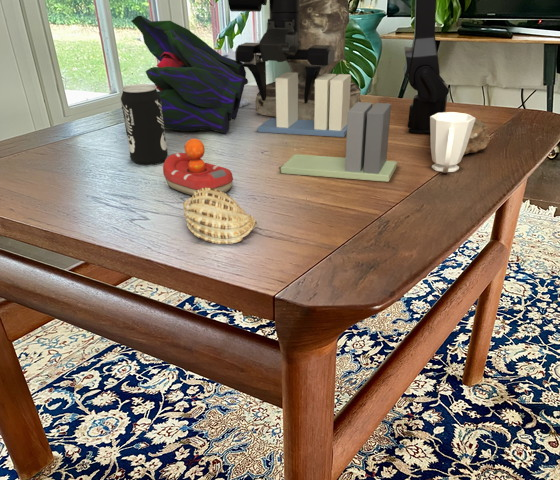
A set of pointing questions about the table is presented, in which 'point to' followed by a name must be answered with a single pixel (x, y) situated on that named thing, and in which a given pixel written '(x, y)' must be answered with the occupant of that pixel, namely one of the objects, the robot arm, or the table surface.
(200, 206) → the seashell
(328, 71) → the sculpture
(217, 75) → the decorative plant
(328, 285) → the table surface
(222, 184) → the toy boat
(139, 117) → the beverage can
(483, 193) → the table surface
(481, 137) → the rock
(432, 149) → the cup
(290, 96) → the white box
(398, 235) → the table surface
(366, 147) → the green base board
